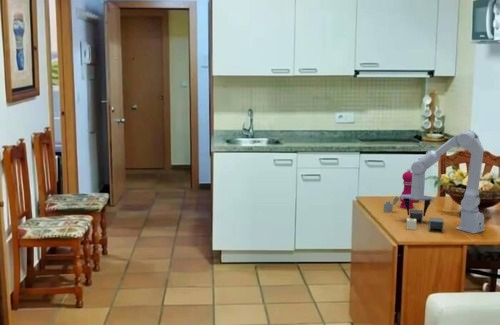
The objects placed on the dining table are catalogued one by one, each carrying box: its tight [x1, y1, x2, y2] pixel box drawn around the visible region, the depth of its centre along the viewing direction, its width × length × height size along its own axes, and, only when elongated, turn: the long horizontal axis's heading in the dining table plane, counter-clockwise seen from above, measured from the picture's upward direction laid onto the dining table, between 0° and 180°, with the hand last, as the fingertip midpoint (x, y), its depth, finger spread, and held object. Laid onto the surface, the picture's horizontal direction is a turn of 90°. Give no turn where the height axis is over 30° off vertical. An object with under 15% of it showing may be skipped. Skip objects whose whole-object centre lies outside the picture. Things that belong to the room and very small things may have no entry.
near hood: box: [428, 217, 445, 234], centre depth 263 cm, size 6×6×5 cm
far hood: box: [409, 208, 424, 224], centre depth 277 cm, size 6×6×5 cm
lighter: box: [383, 196, 400, 213], centre depth 293 cm, size 7×2×8 cm, turn 86°
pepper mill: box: [399, 168, 415, 210], centre depth 301 cm, size 7×7×20 cm
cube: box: [406, 217, 417, 231], centre depth 266 cm, size 4×4×4 cm
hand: (416, 215), depth 277 cm, fingers open, 6 cm apart
